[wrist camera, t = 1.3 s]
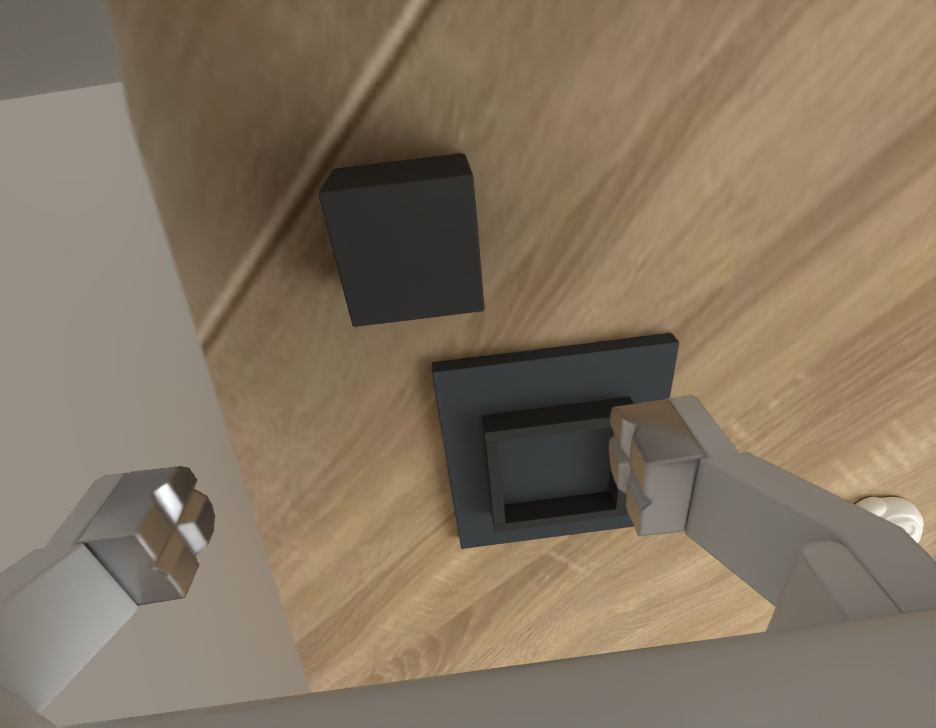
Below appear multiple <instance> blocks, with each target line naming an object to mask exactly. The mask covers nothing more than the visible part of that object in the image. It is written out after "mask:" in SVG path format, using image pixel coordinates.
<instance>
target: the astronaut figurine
mask: <svg viewBox="0 0 936 728" xmlns="http://www.w3.org/2000/svg"><path fill="white" fill-rule="evenodd" d="M855 505H857V506H859V507H861V508H863V509H865V510H867V511H869V512H871V513H873V514H875V515H877V516H879V517H882V518H884V519H886V520H888V521H890V522H892V523H894V524H896V525H898V526H900V527H902V528H903V529H904V530H905V531H906V532H907V533H908V534H909V535H910V536H911V537H912V538H913V539H914V540H915V541H916V542H917V543H918V542H919V540H920V538H921V534H922V531H923V519H922V516H921V514H920V513H919V511H918V510H917V508H916V507H915V506H914V505H913V504H912V503H910V502H909V501H907V500H905V499H903V498H899V497H884V498H878V497H868V498H865V499H863V500H861V501H859V502H858V503H856V504H855Z"/></svg>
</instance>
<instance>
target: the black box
mask: <svg viewBox="0 0 936 728" xmlns="http://www.w3.org/2000/svg"><path fill="white" fill-rule="evenodd" d="M319 198H320V201H321V205H322V209H323V213H324V217H325V221H326V225H327V229H328V232H329V236H330V240H331V244H332V248H333V252H334V256H335V260H336V264H337V267H338V271H339V275H340V279H341V283H342V287H343V291H344V295H345V298H346V302H347V306H348V310H349V314H350V318H351V322H352V325H353V327H357V326H365V325H374V324H382V323H390V322H398V321H406V320H414V319H423V318H431V317H439V316H447V315H455V314H463V313H472V312H480V311H484V297H483V285H482V273H481V262H480V250H479V238H478V226H477V214H476V202H475V190H474V179H473V174H472V171H471V168H470V166H469V163H468V161H467V158H466V155H465V154H456V155H448V156H439V157H431V158H422V159H414V160H405V161H397V162H388V163H380V164H371V165H363V166H354V167H346V168H337V169H333V171H332V172H331V174H330V175H329V177H328V178H327V180H326V182H325V183H324V185H323V186H322V188H321V189H320V191H319Z"/></svg>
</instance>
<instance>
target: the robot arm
mask: <svg viewBox="0 0 936 728" xmlns="http://www.w3.org/2000/svg"><path fill="white" fill-rule="evenodd" d="M610 425H611V427H612V430H613V432H614V435H613V437H612V438H611V439H610V440H609V452H608V454H609V461H610V468H611V472H612V475H613V478H614V481H615V483H616V486H617V488H618V489H619V490H621V491H622V492H624V493H625V494H627V496H626V509H627V511H628V514H629V516H630V518H631V521H632V523H633V525H634V527H635V530H636V532H637V534H638V536H647V535H657V534H666V533H675V532H684V531H686V532H685V534H686V535H688V536H689V537H690V538H691V539H692V540H694V541H695V542H696V543H697V544H699V545H700V546H701V547H702V548H704V549H705V550H706V551H707V552H709V553H710V554H711V555H712V556H713V557H715V558H716V559H717V560H718V561H720V562H721V563H722V564H723V565H725V566H726V567H727V568H728V569H730V570H731V571H732V572H733V573H734V574H736V575H737V576H738V577H739V578H741V579H742V580H743V581H744V582H746V583H747V584H748V585H749V586H751V587H752V588H753V589H754V590H755V591H757V592H758V593H759V594H760V595H762V596H763V597H764V598H765V599H767V600H768V601H769V602H770V603H771V604H773V605H774V606H775V607H776V608H775V610H774V613H773V615H772V618H771V620H770V623H769V625H768V628H767V630H766V632H761V633H753V634H746V635H738V636H731V637H724V638H716V639H709V640H701V641H694V642H686V643H679V644H672V645H664V646H657V647H649V648H642V649H634V650H627V651H619V652H612V653H605V654H597V655H590V656H582V657H575V658H567V659H560V660H552V661H545V662H538V663H530V664H523V665H515V666H508V667H500V668H493V669H485V670H478V671H471V672H463V673H456V674H448V675H441V676H433V677H426V678H418V679H411V680H404V681H396V682H389V683H381V684H374V685H367V686H359V687H352V688H345V689H337V690H330V691H322V692H315V693H308V694H300V695H293V696H286V697H278V698H271V699H263V700H257V701H249V702H242V703H234V704H227V705H219V706H212V707H204V708H197V709H189V710H182V711H175V712H167V713H160V714H152V715H144V716H137V717H130V718H122V719H115V720H108V721H100V722H93V723H85V724H78V725H71V726H62V727H57V726H56V725H54V724H53V723H51V722H50V721H49V720H47V719H46V718H45V717H43V716H42V715H40V713H41V712H42V711H43V709H44V708H45V707H46V706H47V705H48V704H49V703H50V702H51V701H52V700H53V699H54V698H55V697H56V696H57V695H58V693H60V691H61V690H62V689H63V688H64V687H65V686H66V685H67V684H68V683H69V682H70V681H71V680H72V679H73V678H74V677H75V675H76V674H77V673H78V672H79V671H80V670H81V669H82V668H83V667H84V666H85V665H86V664H87V663H88V662H89V660H91V658H92V657H93V656H94V655H95V654H96V653H97V652H98V651H99V650H100V649H101V648H102V647H103V646H104V645H105V644H106V643H107V642H108V640H109V639H110V638H111V637H112V636H113V635H114V634H115V633H116V632H117V631H118V630H119V629H120V628H121V626H123V624H124V623H125V622H126V621H127V620H128V619H129V618H130V617H131V616H132V615H133V614H134V613H135V612H136V610H137V609H139V607H138V606H139V605H145V604H150V603H156V602H163V601H169V600H175V599H181V598H185V597H186V595H187V592H188V590H189V588H190V585H191V583H192V581H193V579H194V576H195V574H196V572H197V569H198V567H199V563H198V561H197V558H196V555H197V554H198V553H199V552H200V551H202V550H203V549H204V548H205V547H206V546H207V545H208V544H209V542H210V539H211V536H212V534H213V532H214V521H215V514H214V510H213V506H212V504H211V502H210V500H209V498H208V497H207V496H206V495H204V494H202V493H201V492H199V491H197V490H195V489H194V488H195V485H196V482H197V479H196V477H195V476H194V474H193V473H192V471H191V470H190V468H187V467H182V466H179V467H170V468H161V469H152V470H143V471H136V472H130V473H122V474H113V475H105V476H103V477H101V478H99V479H97V480H95V482H94V483H93V484H92V486H91V487H90V488H89V489H88V491H87V492H86V493H85V495H84V496H83V497H82V499H81V500H80V501H79V503H78V504H77V505H76V507H75V508H74V509H73V511H72V512H71V513H70V515H69V516H68V517H67V519H66V520H65V521H64V523H63V524H62V525H61V526H60V528H59V529H58V530H57V532H56V533H55V534H54V536H53V537H52V538H51V539H50V541H49V542H48V543H47V545H46V546H45V547H44V548H43V549H36V550H34V551H32V552H31V553H29V554H28V555H27V556H25V557H24V558H22V559H21V560H19V561H18V562H16V563H15V564H13V565H12V566H11V567H9V568H8V569H6V570H5V571H3V572H2V573H0V728H936V562H935V561H934V560H933V559H932V558H931V557H930V555H929V554H928V553H927V552H926V551H925V550H924V549H923V548H922V547H921V546H920V545H919V544H918V543H917V542H916V541H915V540H914V539H913V538H912V537H911V536H910V535H909V534H908V533H907V532H906V531H905V530H904V529H903V528H902V527H900V526H898V525H896V524H894V523H892V522H890V521H888V520H886V519H884V518H882V517H879V516H877V515H875V514H873V513H871V512H869V511H867V510H865V509H863V508H861V507H859V506H857V505H855V504H853V503H851V502H849V501H847V500H845V499H843V498H841V497H839V496H837V495H835V494H832V493H830V492H828V491H826V490H824V489H822V488H820V487H818V486H816V485H814V484H812V483H810V482H808V481H806V480H804V479H802V478H800V477H798V476H796V475H794V474H792V473H790V472H787V471H785V470H783V469H781V468H779V467H777V466H775V465H773V464H771V463H769V462H767V461H765V460H763V459H761V458H759V457H757V456H755V455H753V454H751V453H749V452H747V453H739V451H738V450H737V449H736V448H735V446H734V445H733V444H732V442H731V441H730V440H729V439H728V437H727V436H726V435H725V433H724V432H723V431H722V429H721V428H720V427H719V426H718V424H717V423H716V422H715V420H714V419H713V418H712V417H711V415H710V414H709V413H708V411H707V410H706V409H705V407H704V406H703V405H702V404H701V402H700V401H699V400H698V398H697V397H695V396H693V395H687V396H681V397H675V398H668V399H665V400H658V401H651V402H644V403H637V404H630V405H624V406H617V407H612V410H611V413H610Z"/></svg>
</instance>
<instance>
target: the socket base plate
mask: <svg viewBox="0 0 936 728" xmlns="http://www.w3.org/2000/svg"><path fill="white" fill-rule="evenodd" d="M678 346H679V341H678V340H677V339H676V338H675V336H674V335H673V334H672V333H671V334H663V335H655V336H646V337H638V338H630V339H622V340H614V341H606V342H598V343H590V344H582V345H574V346H566V347H558V348H550V349H542V350H534V351H525V352H517V353H509V354H501V355H493V356H485V357H477V358H469V359H461V360H453V361H445V362H437V363H432V374H433V380H434V386H435V392H436V398H437V404H438V410H439V416H440V422H441V428H442V435H443V441H444V447H445V453H446V459H447V465H448V471H449V477H450V483H451V489H452V496H453V502H454V508H455V514H456V520H457V526H458V532H459V538H460V544H461V549H464V548H472V547H480V546H487V545H495V544H503V543H510V542H518V541H526V540H534V539H541V538H549V537H557V536H564V535H572V534H580V533H587V532H595V531H603V530H610V529H618V528H626V527H633V526H634V525H633V523H632V521H631V518H630V516H629V514H628V511H627V509H626V496H627V494H625V493H624V492H622V491H621V490H619V489H618V488H617V486H616V483H615V481H614V478H613V475H612V472H611V468H610V461H609V454H608V452H609V440H610V439H611V438H612V437H613V435H614V432H613V430H612V427H611V425H610V413H611V410H612V407H617V406H624V405H630V404H637V403H644V402H651V401H658V400H665V399H668V398H670V393H671V387H672V381H673V376H674V370H675V364H676V358H677V352H678Z"/></svg>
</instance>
